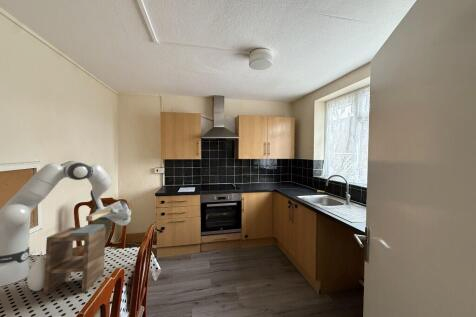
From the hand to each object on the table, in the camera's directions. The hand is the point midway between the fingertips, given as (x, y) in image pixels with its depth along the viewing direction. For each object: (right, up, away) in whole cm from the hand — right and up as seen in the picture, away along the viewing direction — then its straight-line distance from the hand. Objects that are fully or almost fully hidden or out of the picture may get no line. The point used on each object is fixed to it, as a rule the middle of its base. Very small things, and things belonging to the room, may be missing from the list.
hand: (108, 209), depth 117 cm
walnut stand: (0, -31, -24) cm, 39 cm away
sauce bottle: (-13, -31, -29) cm, 44 cm away
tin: (-19, -32, -1) cm, 37 cm away
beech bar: (+1, -1, -7) cm, 7 cm away
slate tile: (+5, -5, -22) cm, 23 cm away
